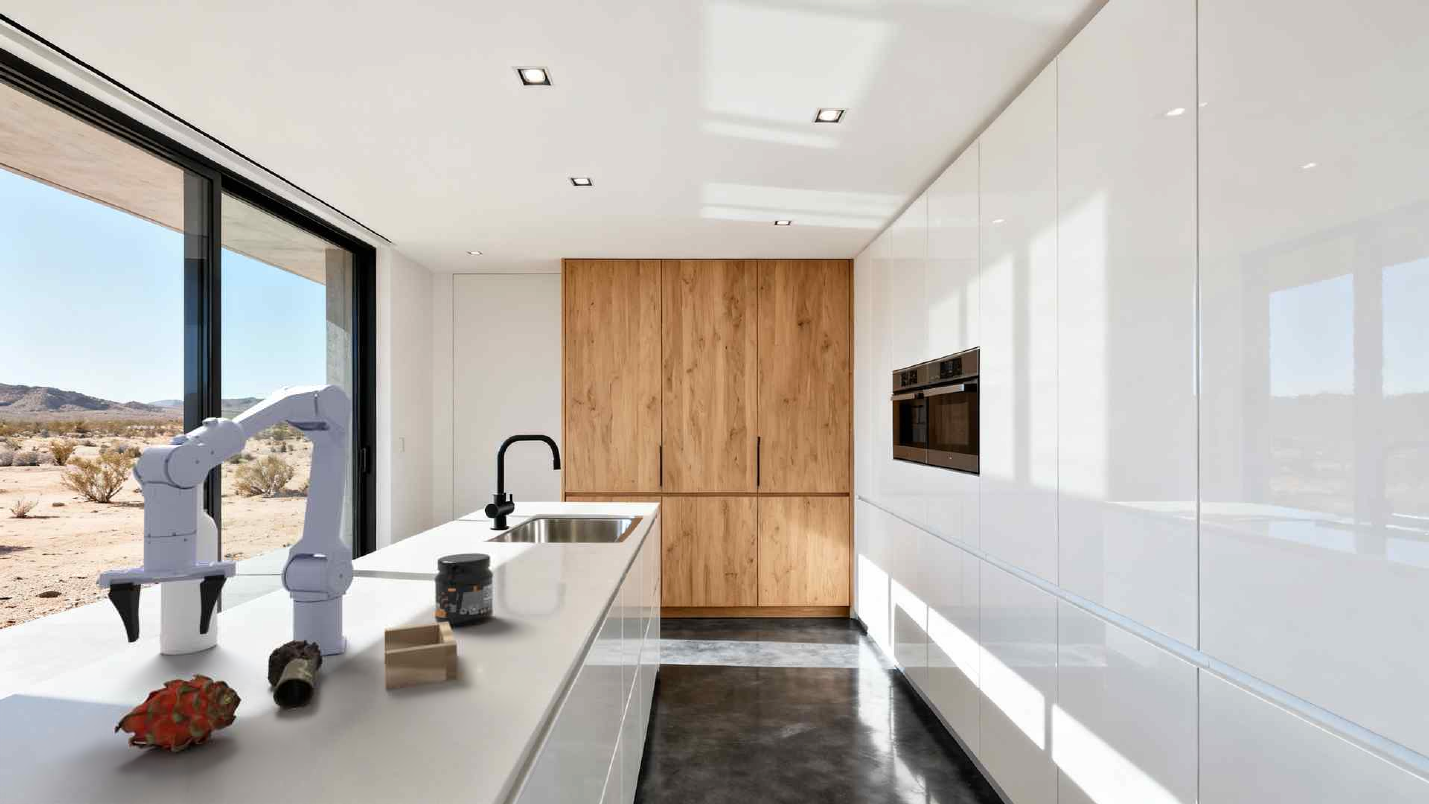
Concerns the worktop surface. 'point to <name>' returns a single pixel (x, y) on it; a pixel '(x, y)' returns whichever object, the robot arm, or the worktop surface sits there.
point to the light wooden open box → (420, 654)
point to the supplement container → (463, 590)
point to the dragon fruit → (181, 714)
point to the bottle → (189, 597)
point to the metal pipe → (294, 673)
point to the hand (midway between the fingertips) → (169, 636)
